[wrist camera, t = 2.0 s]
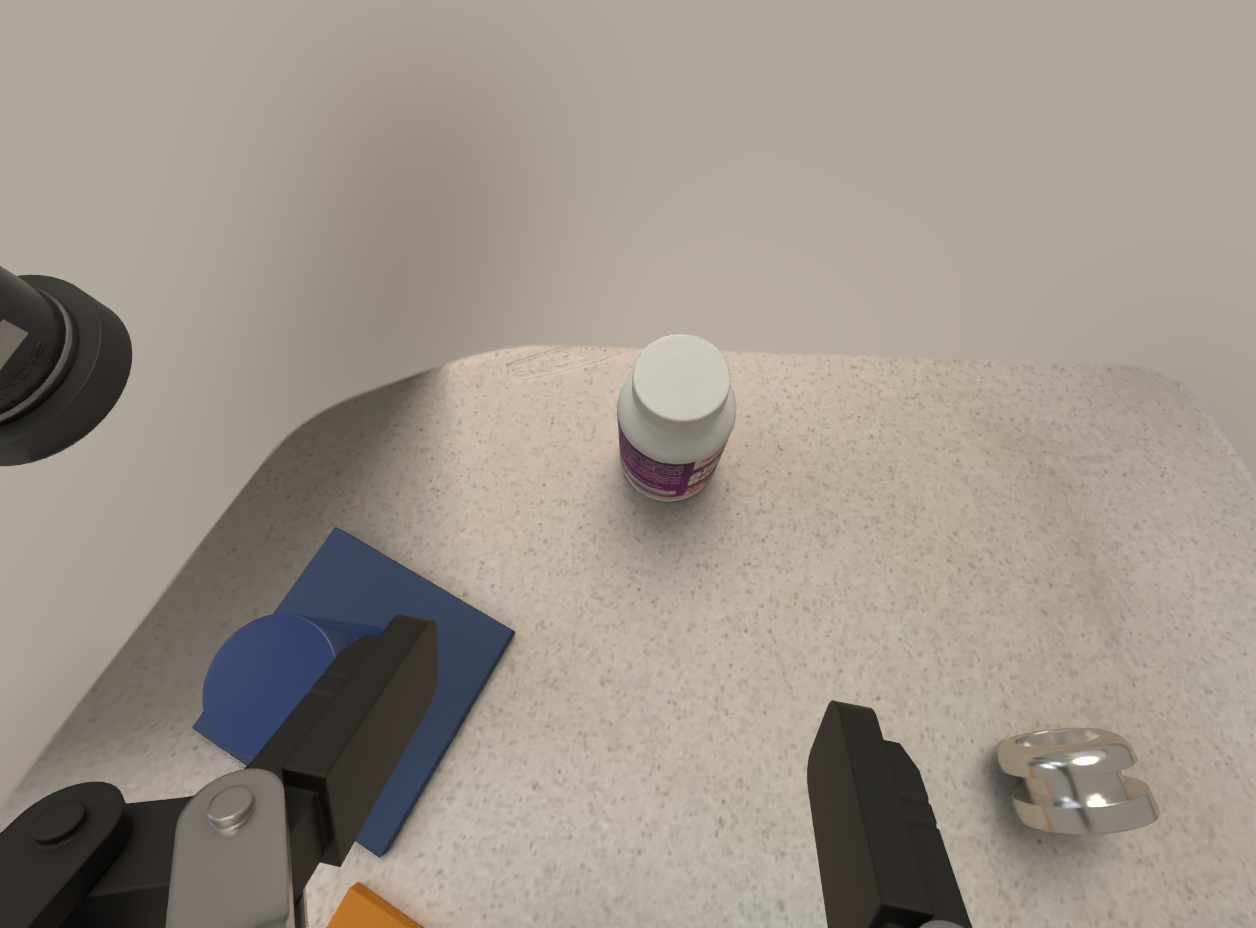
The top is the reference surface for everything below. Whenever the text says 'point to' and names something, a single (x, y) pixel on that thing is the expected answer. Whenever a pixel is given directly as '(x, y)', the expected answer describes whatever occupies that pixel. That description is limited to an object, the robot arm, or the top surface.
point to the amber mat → (368, 912)
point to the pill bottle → (675, 417)
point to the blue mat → (373, 595)
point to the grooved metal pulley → (1076, 782)
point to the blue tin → (270, 674)
